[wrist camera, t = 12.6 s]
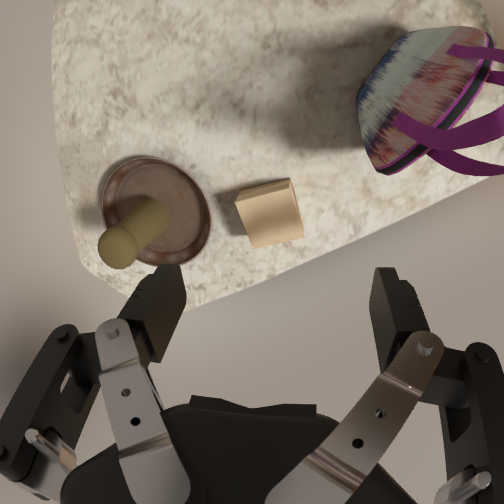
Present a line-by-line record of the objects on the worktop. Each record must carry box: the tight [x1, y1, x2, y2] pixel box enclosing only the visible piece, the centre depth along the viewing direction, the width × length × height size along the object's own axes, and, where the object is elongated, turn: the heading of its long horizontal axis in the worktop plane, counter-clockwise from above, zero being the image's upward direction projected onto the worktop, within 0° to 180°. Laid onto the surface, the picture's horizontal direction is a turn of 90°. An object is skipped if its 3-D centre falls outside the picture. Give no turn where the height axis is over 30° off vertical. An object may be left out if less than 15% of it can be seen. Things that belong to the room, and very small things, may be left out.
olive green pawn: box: [98, 198, 170, 269], centre depth 39 cm, size 6×6×11 cm
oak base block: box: [235, 178, 304, 249], centre depth 42 cm, size 7×7×4 cm
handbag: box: [356, 26, 504, 176], centre depth 22 cm, size 21×10×25 cm, turn 148°
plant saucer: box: [101, 157, 212, 267], centre depth 46 cm, size 18×18×3 cm
